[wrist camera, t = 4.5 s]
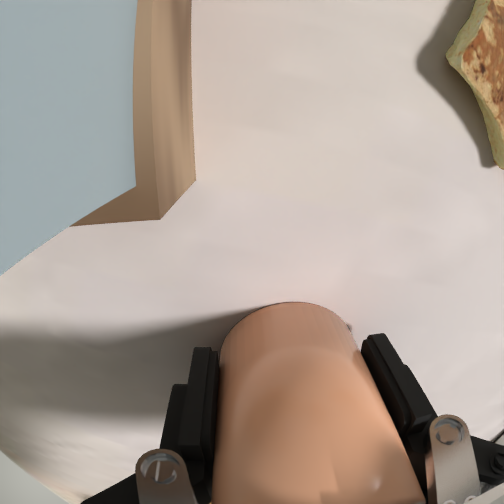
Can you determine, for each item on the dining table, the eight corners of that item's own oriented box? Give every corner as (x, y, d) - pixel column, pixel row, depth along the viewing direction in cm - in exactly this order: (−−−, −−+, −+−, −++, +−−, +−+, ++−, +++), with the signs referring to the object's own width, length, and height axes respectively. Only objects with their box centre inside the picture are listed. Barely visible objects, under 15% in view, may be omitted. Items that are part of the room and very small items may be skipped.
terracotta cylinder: (342, 395, 12) (387, 537, 5) (226, 405, 12) (223, 560, 5) (361, 296, 10) (462, 469, 4) (213, 306, 10) (189, 517, 4)
